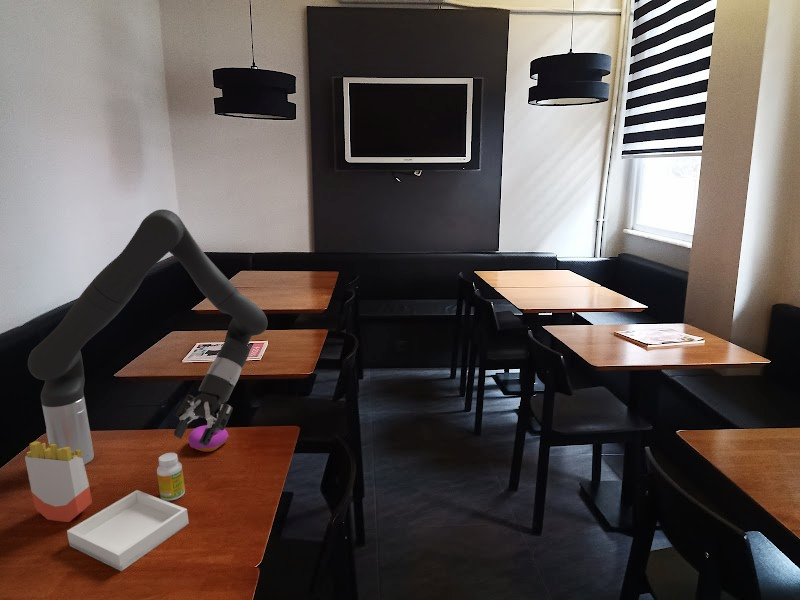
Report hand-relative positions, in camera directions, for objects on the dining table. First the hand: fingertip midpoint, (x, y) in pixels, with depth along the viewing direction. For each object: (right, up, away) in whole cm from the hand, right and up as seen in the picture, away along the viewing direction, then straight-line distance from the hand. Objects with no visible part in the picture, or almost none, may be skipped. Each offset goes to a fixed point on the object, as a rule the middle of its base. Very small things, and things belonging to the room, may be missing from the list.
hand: (189, 440), depth 132 cm
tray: (-6, -15, -17) cm, 23 cm away
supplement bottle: (-3, -12, -3) cm, 13 cm away
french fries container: (-23, -14, -10) cm, 29 cm away
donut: (-2, -6, +20) cm, 21 cm away
